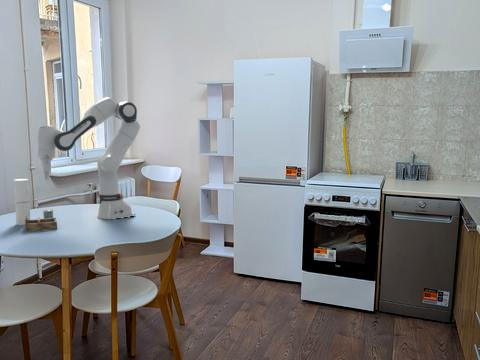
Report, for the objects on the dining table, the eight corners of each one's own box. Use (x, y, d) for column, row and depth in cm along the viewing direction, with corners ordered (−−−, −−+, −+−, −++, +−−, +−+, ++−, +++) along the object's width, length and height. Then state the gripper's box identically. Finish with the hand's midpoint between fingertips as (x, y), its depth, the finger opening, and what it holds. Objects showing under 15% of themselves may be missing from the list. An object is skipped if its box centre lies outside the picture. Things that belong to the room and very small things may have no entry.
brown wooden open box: (56, 224, 228) (55, 213, 227) (57, 229, 219) (56, 217, 218) (26, 227, 221) (25, 215, 220) (25, 232, 212) (25, 219, 211)
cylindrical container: (24, 225, 225) (22, 180, 222) (13, 224, 227) (10, 180, 223) (33, 222, 232) (31, 179, 229) (22, 221, 233) (20, 178, 230)
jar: (53, 220, 239) (52, 209, 238) (53, 222, 234) (53, 211, 233) (43, 220, 236) (43, 209, 235) (43, 223, 232) (43, 211, 231)
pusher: (40, 225, 223) (39, 216, 222) (40, 228, 217) (40, 219, 216) (37, 225, 222) (37, 217, 222) (38, 228, 216) (37, 220, 215)
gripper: (53, 155, 222) (53, 181, 224) (51, 153, 240) (51, 176, 242) (40, 155, 219) (40, 181, 221) (39, 152, 237) (40, 176, 239)
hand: (46, 178), depth 232 cm, fingers open, 8 cm apart
